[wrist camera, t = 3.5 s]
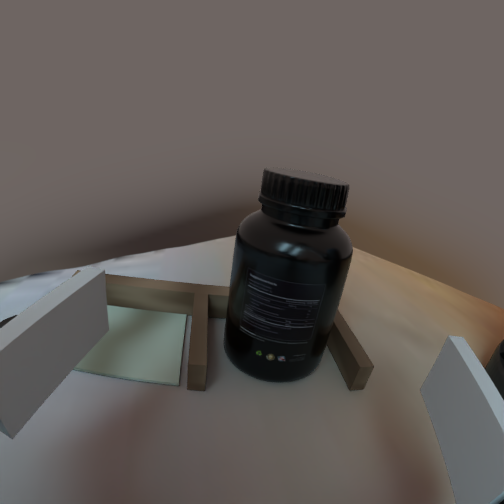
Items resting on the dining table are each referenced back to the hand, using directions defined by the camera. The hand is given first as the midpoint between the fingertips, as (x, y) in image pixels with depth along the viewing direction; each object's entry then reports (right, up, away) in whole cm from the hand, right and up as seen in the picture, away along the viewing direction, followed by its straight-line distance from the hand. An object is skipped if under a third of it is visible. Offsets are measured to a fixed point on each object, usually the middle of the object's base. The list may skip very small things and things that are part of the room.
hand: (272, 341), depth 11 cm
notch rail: (-4, -3, +10) cm, 11 cm away
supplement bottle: (+1, -4, +10) cm, 11 cm away
